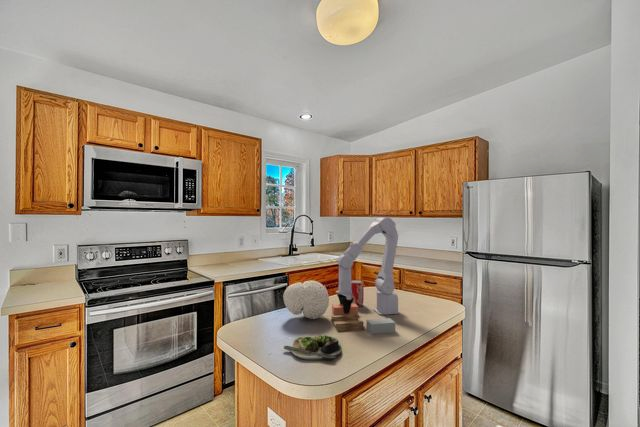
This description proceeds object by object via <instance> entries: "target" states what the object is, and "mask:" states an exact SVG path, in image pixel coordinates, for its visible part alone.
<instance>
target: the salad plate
mask: <svg viewBox="0 0 640 427" xmlns="http://www.w3.org/2000/svg"><path fill="white" fill-rule="evenodd" d="M283 349H284V350H285V351H286V350H287V351H289V352H291V353H292V354H293V355H294V356H296V358H297V357H298V358H299V359H303V360H312V361H313V360H315V361H316V360H317V361H325V360H326V361H330V360H334V359H336V358H339V356H340V355H341V354H342V345H341V341H340V339H339V338H337V337H336V336H334V335H333V336H332V335H325V334H322V335H320V334H318V335H303V336H298V337H297V338H296V339H294V340H293V342H292V346H290V345H284V346H283Z"/></svg>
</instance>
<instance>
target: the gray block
mask: <svg viewBox="0 0 640 427" xmlns="http://www.w3.org/2000/svg"><path fill="white" fill-rule="evenodd" d="M365 321H366V323H365V324H366V327H365V329H366V331H367V332H368V333H369V334H370V335H376V334H377V335H378V334H379V335H380V334H389V333H390V334H391V333H396V322H395V321H394V320H393V319H392V318H391V317H388V318H373V319H366V320H365Z"/></svg>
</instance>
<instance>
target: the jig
mask: <svg viewBox="0 0 640 427" xmlns="http://www.w3.org/2000/svg"><path fill="white" fill-rule="evenodd" d="M358 317H359V314H358V315H357V314H354V315H338V316H333V315H331V318H330V321H331V323H332V324H333V327H334V328H335V330H336V331H337V332H349V331H351V332H352V331H365V329H366V327H365V326H364V324H365V323H364V321H363V320H360V319H358Z"/></svg>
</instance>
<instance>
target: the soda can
mask: <svg viewBox="0 0 640 427" xmlns="http://www.w3.org/2000/svg"><path fill="white" fill-rule="evenodd" d="M351 291H352V294H351V298H354V300H353V302H352V304H356V305H357V306H358V308H360V307H362V306H363V305H364V292H365V291H364V283H363V281H362V280H358V279H354V280H352V279H351Z"/></svg>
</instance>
